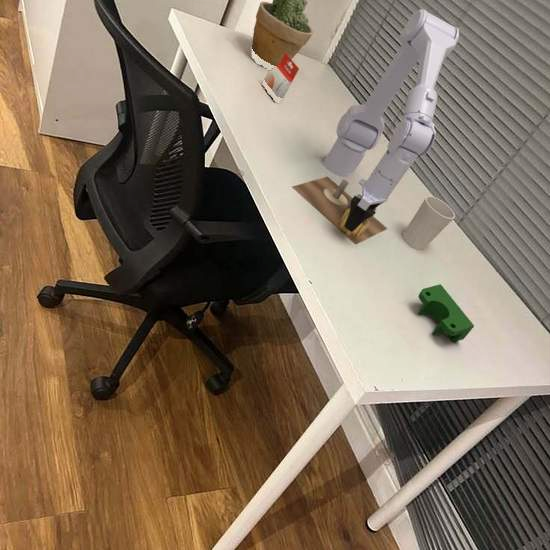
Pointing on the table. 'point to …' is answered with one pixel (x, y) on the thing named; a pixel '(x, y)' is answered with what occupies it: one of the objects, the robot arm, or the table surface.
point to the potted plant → (280, 30)
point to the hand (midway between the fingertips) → (353, 223)
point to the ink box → (281, 76)
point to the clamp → (444, 313)
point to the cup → (427, 223)
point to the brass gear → (357, 231)
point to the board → (334, 204)
